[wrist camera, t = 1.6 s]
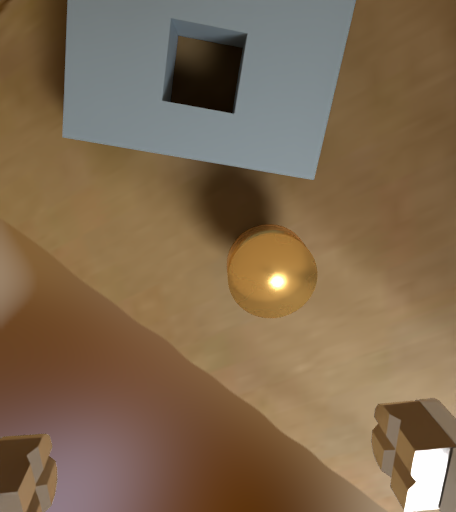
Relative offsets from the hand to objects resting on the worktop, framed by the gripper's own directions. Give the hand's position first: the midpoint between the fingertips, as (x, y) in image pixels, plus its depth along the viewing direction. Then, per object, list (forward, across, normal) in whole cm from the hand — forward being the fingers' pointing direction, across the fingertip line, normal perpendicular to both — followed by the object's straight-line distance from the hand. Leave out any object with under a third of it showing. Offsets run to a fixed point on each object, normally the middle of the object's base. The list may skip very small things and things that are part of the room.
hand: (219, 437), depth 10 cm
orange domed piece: (+25, +6, -3) cm, 26 cm away
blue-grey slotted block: (+26, +1, +11) cm, 28 cm away
